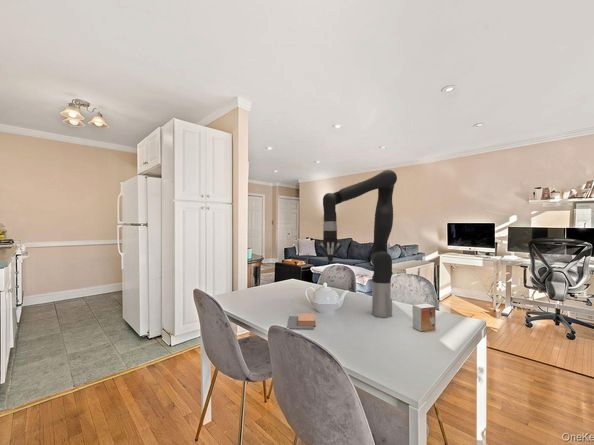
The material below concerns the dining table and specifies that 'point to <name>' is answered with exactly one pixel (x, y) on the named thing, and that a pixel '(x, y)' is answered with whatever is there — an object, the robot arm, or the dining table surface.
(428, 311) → the small box
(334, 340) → the dining table surface
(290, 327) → the felt mat
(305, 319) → the tile
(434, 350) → the dining table surface
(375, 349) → the dining table surface
